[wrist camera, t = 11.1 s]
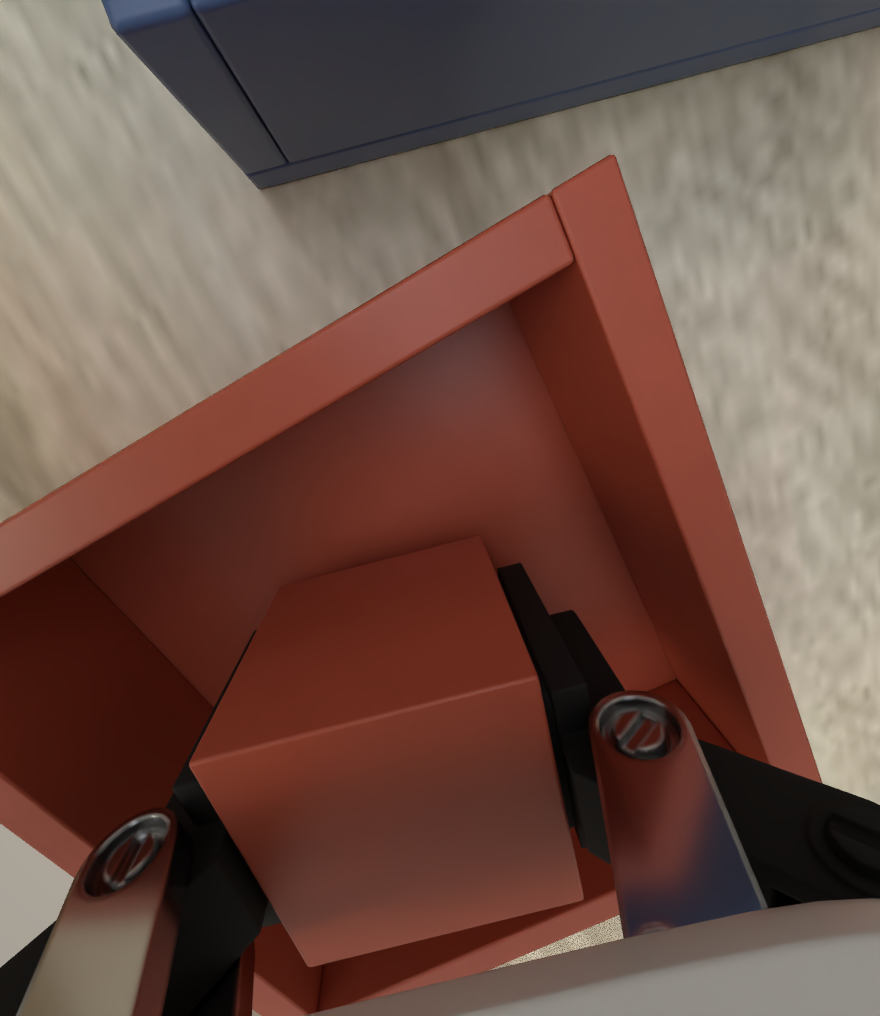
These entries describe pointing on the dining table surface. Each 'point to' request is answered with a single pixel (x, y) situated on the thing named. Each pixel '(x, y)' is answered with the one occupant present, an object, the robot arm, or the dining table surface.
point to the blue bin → (434, 64)
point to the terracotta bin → (394, 544)
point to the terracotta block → (391, 758)
